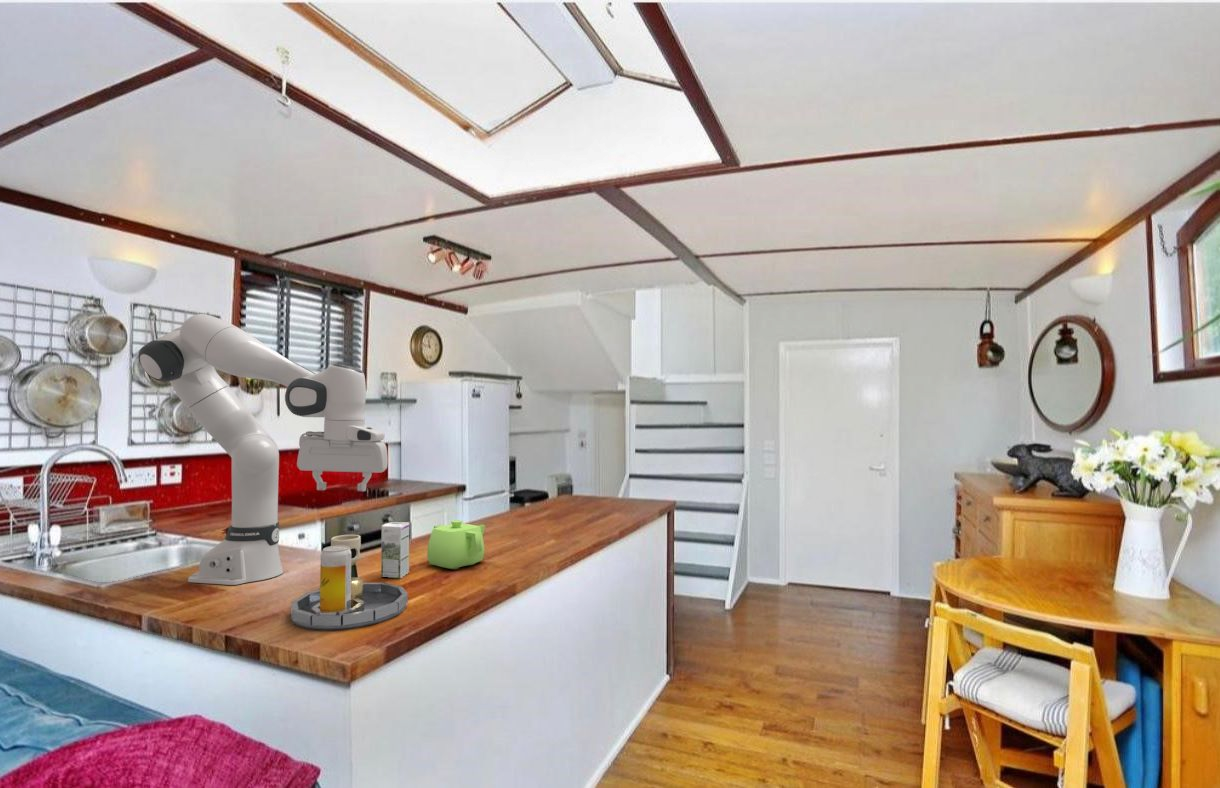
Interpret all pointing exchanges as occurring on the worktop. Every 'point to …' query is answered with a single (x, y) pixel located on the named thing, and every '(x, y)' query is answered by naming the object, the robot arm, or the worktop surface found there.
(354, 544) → the character mug
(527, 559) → the worktop surface
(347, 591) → the beer can
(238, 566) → the robot arm
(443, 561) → the teapot
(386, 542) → the syrup box
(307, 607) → the tray
